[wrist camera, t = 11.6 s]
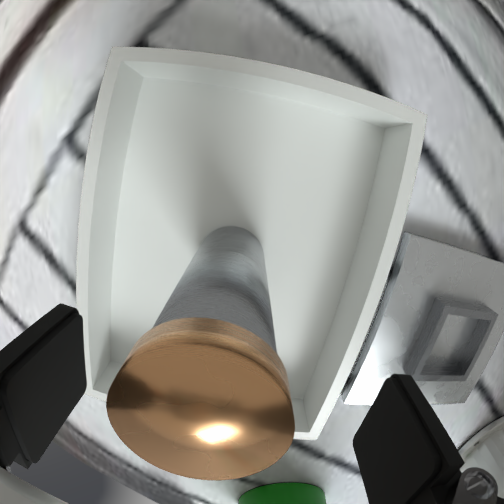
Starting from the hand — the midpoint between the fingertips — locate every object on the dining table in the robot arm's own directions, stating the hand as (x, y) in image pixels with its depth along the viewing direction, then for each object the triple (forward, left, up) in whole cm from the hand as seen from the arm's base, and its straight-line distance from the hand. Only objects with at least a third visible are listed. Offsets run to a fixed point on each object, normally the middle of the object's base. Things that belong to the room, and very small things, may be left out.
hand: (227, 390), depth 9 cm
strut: (0, +1, -12) cm, 11 cm away
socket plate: (-3, -17, -12) cm, 21 cm away
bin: (0, +1, -12) cm, 12 cm away
